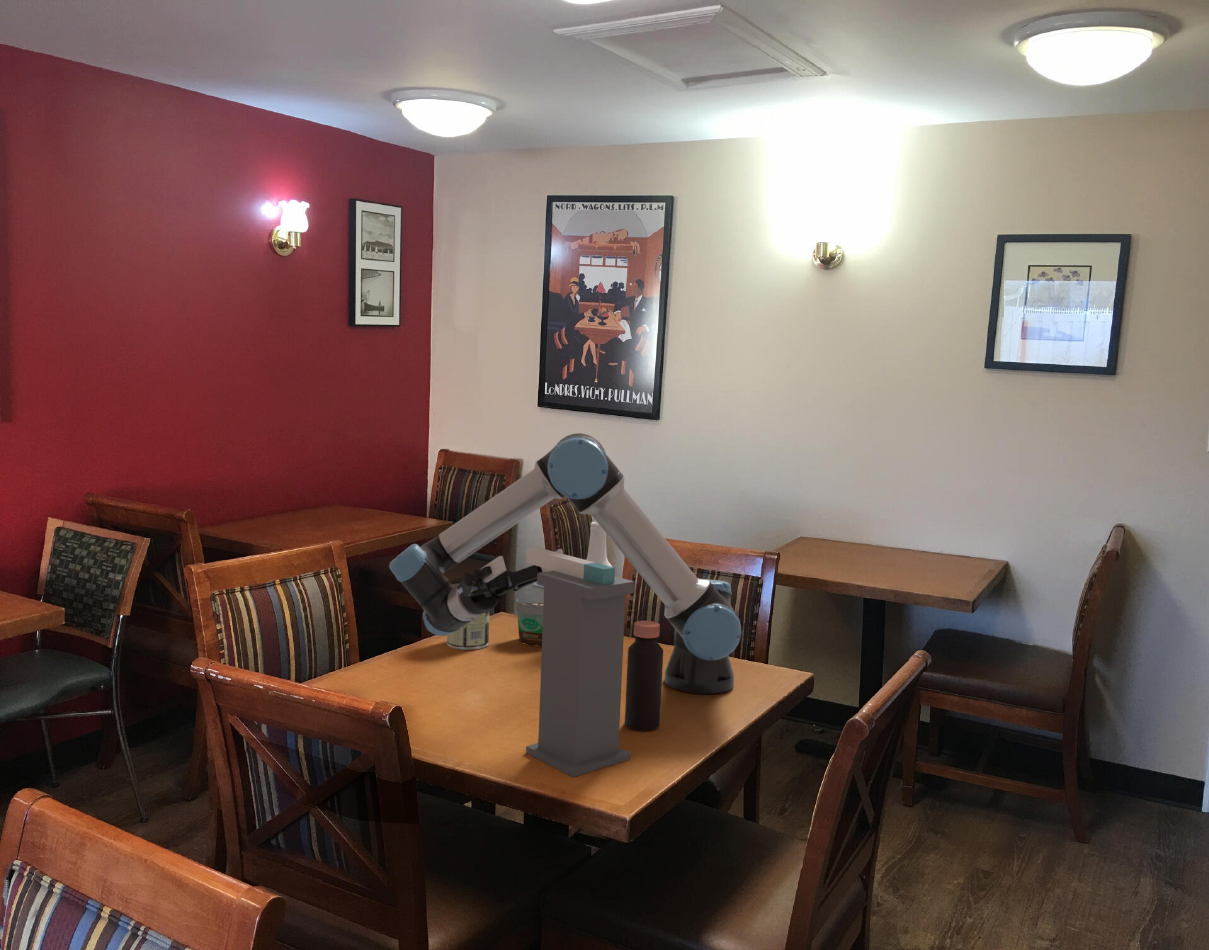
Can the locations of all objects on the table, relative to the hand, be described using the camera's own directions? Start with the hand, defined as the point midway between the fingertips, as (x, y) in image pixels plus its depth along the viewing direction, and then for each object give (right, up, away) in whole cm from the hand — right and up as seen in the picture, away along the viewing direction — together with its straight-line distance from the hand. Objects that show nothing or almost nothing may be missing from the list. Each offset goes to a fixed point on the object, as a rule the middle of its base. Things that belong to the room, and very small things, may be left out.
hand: (533, 559), depth 183 cm
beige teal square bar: (+7, -2, -7) cm, 10 cm away
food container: (-4, -26, +63) cm, 68 cm away
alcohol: (+10, -26, +66) cm, 72 cm away
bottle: (+20, -33, +10) cm, 40 cm away
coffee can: (-20, -26, +60) cm, 68 cm away
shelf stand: (+8, -34, -6) cm, 36 cm away
